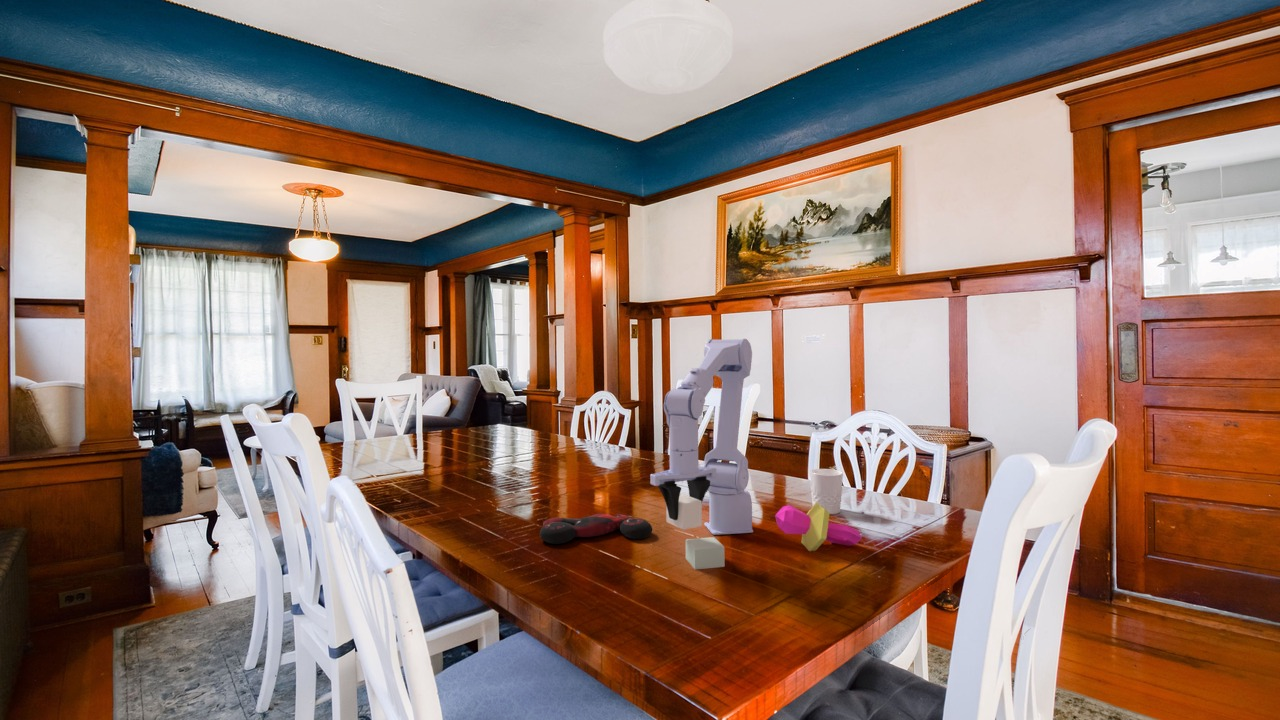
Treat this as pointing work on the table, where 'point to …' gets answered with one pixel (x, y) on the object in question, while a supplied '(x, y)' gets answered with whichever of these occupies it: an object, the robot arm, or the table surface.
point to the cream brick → (687, 513)
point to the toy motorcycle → (593, 527)
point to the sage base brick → (705, 553)
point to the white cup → (827, 489)
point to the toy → (815, 527)
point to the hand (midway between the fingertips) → (684, 516)
